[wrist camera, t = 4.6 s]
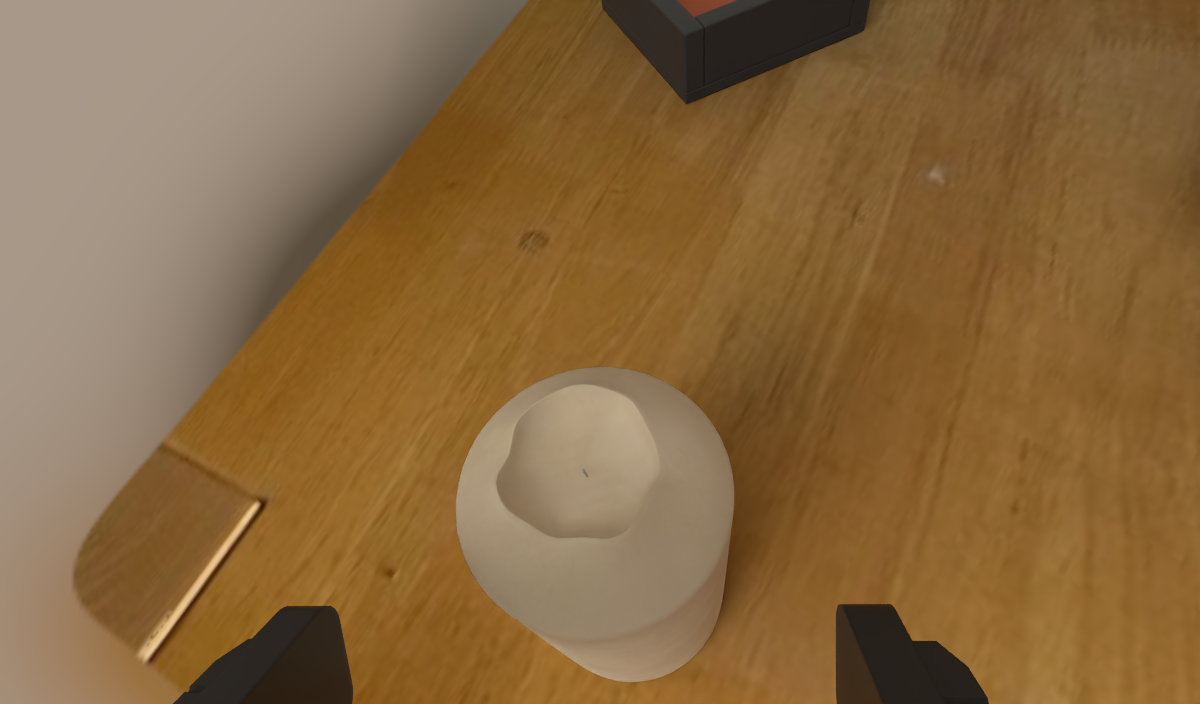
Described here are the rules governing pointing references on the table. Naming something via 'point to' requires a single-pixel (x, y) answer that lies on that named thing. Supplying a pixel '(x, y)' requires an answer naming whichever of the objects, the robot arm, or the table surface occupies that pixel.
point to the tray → (730, 36)
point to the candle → (602, 519)
